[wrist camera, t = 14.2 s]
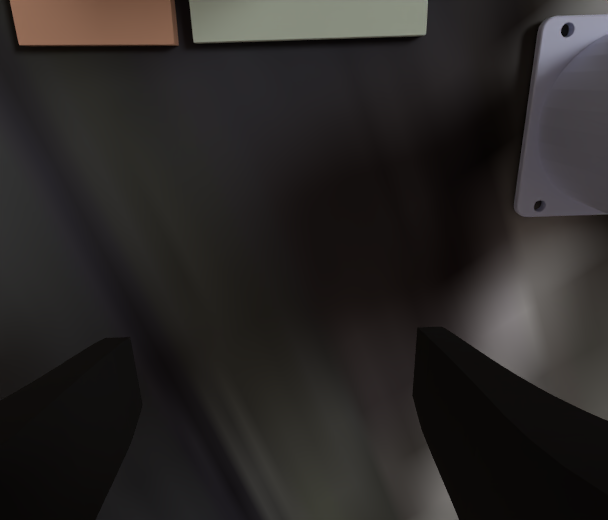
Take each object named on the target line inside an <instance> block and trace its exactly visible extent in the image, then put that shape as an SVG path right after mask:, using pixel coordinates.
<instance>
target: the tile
mask: <svg viewBox="0 0 608 520" xmlns="http://www.w3.org/2000/svg"><path fill="white" fill-rule="evenodd" d="M10 4H11V9H12V14H13V18H14V23H15V28H16V33H17V38H18V42H19V45H22V46H179V42H178V31H177V21H176V10H175V0H10Z"/></svg>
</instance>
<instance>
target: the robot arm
mask: <svg viewBox="0 0 608 520" xmlns="http://www.w3.org/2000/svg"><path fill="white" fill-rule="evenodd" d="M564 24H567V25H568V27H569V32H568V35H567V36H566V37H563V36H562V34H561V29H562V26H563V25H564ZM540 200H541V206H540V207H539V208H538V209H535V210H534V205H535V203H536V202H537V201H540ZM514 210H515V212H516V213H518V214H519V215H521V216H523V217H545V216H575V215H605V214H608V14H602V15H572V16H555V17H551V18H547V19H546V20H544V21H543V22H542V23H541V25H540V26H539V29H538V32H537V40H536V47H535V54H534V62H533V69H532V76H531V83H530V91H529V98H528V105H527V112H526V120H525V127H524V134H523V141H522V149H521V156H520V163H519V170H518V178H517V185H516V192H515V200H514ZM413 399H414V403H415V407H416V411H417V415H418V418H419V422H420V425H421V429H422V432H423V434H424V437H425V439H426V442H427V444H428V446H429V449H430V451H431V454H432V456H433V459H434V461H435V463H436V466H437V468H438V470H439V473H440V475H441V477H442V480H443V482H444V485H445V487H446V489H447V492H448V494H449V496H450V499H451V501H452V503H453V506H454V508H455V511H456V513H457V515H458V518H459V520H608V421H607V420H604V419H602V418H600V417H597V416H595V415H593V414H590V413H588V412H586V411H584V410H582V409H580V408H578V407H576V406H573V405H571V404H569V403H567V402H565V401H563V400H561V399H559V398H557V397H555V396H553V395H551V394H549V393H547V392H545V391H544V390H542V389H540V388H538V387H536V386H535V385H533V384H531V383H529V382H528V381H526V380H524V379H523V378H521V377H519V376H517V375H516V374H514V373H512V372H511V371H509V370H508V369H506V368H504V367H503V366H501V365H500V364H498V363H496V362H495V361H493V360H492V359H490V358H489V357H487V356H486V355H484V354H483V353H481V352H480V351H478V350H477V349H475V348H474V347H472V346H471V345H469V344H468V343H466V342H465V341H463V340H462V339H461V338H459V337H458V336H456V335H455V334H453V333H451V332H450V331H448V330H447V329H445V328H443V327H421V328H417V341H416V355H415V369H414V382H413ZM141 408H142V401H141V395H140V390H139V384H138V379H137V373H136V368H135V362H134V357H133V351H132V346H131V340H130V337H124V338H105V339H103V340H101V341H99V342H97V343H95V344H93V345H92V346H90V347H88V348H87V349H85V350H83V351H82V352H80V353H78V354H77V355H75V356H74V357H72V358H71V359H69V360H67V361H66V362H64V363H63V364H61V365H59V366H58V367H56V368H55V369H53V370H51V371H50V372H48V373H47V374H45V375H43V376H42V377H40V378H39V379H37V380H35V381H34V382H32V383H30V384H29V385H27V386H25V387H23V388H22V389H20V390H18V391H17V392H15V393H13V394H11V395H10V396H8V397H6V398H5V399H3V400H1V401H0V520H95V519H96V517H97V515H98V513H99V511H100V509H101V506H102V504H103V502H104V500H105V498H106V496H107V494H108V491H109V489H110V487H111V485H112V483H113V481H114V479H115V476H116V474H117V472H118V470H119V468H120V466H121V463H122V461H123V459H124V457H125V455H126V452H127V450H128V448H129V446H130V443H131V441H132V438H133V435H134V432H135V429H136V425H137V422H138V418H139V415H140V411H141Z"/></svg>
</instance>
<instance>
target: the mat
mask: <svg viewBox="0 0 608 520" xmlns="http://www.w3.org/2000/svg"><path fill="white" fill-rule="evenodd" d="M189 4H190V13H191V22H192V32H193V41H194V43H196V44H202V43H232V42H262V41H292V40H322V39H352V38H382V37H412V36H424V35H426V24H427V7H428V0H189Z"/></svg>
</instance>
